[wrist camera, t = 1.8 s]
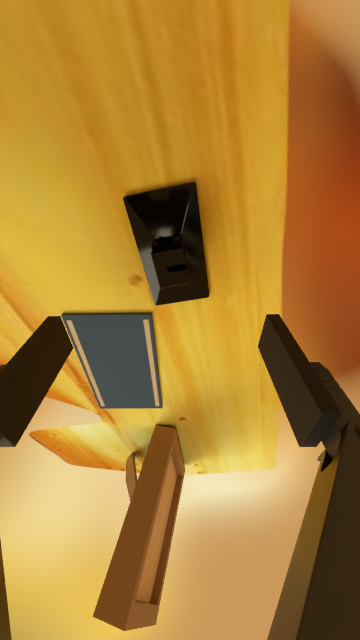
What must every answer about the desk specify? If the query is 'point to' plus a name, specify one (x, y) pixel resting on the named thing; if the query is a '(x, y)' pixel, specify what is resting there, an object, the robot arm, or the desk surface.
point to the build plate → (170, 242)
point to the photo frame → (144, 536)
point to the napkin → (117, 357)
